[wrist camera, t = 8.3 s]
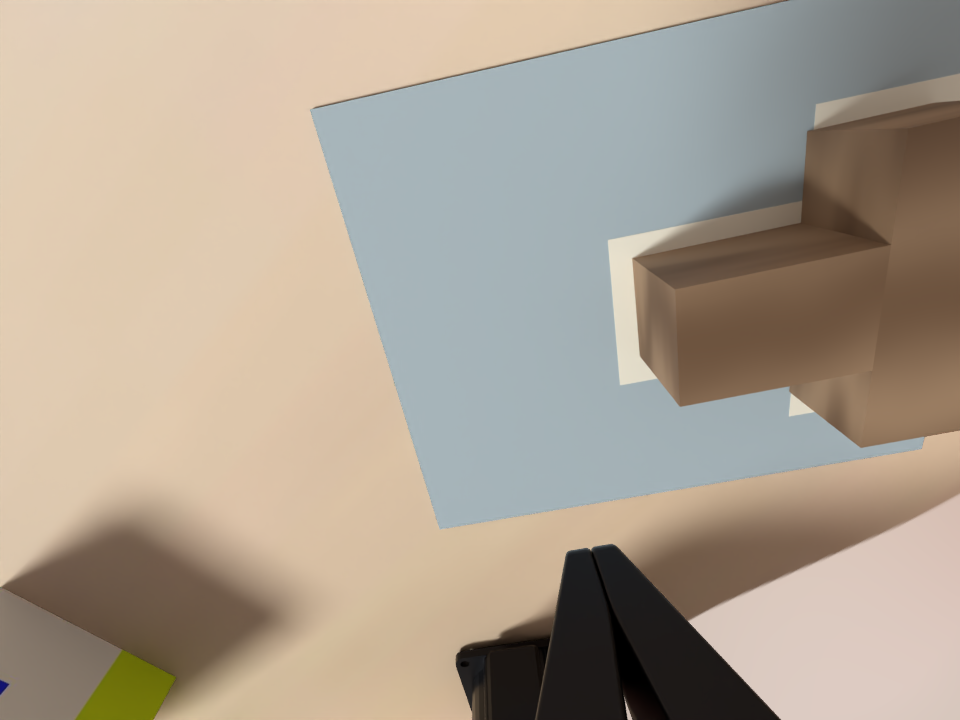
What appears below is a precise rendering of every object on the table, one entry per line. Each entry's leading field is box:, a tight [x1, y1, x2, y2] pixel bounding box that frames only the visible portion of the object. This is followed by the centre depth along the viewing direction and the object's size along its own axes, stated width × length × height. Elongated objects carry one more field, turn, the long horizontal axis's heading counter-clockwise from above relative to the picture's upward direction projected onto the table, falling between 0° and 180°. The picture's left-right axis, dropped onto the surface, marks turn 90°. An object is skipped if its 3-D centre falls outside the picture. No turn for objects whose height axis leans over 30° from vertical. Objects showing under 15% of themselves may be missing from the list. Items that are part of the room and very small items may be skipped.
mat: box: [310, 0, 960, 529], centre depth 18 cm, size 18×22×1 cm
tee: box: [632, 101, 960, 448], centre depth 16 cm, size 10×10×4 cm
